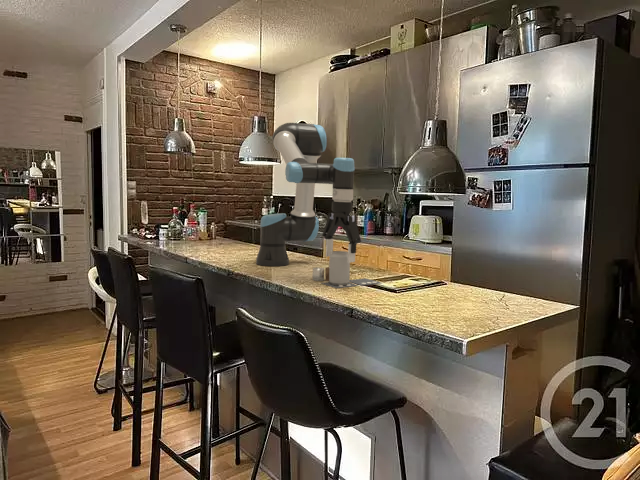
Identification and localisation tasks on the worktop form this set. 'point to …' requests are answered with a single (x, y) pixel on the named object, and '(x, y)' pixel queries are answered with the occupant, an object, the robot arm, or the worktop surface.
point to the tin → (318, 274)
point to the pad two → (339, 285)
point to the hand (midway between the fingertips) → (339, 259)
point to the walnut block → (327, 274)
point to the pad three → (364, 282)
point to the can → (339, 268)
